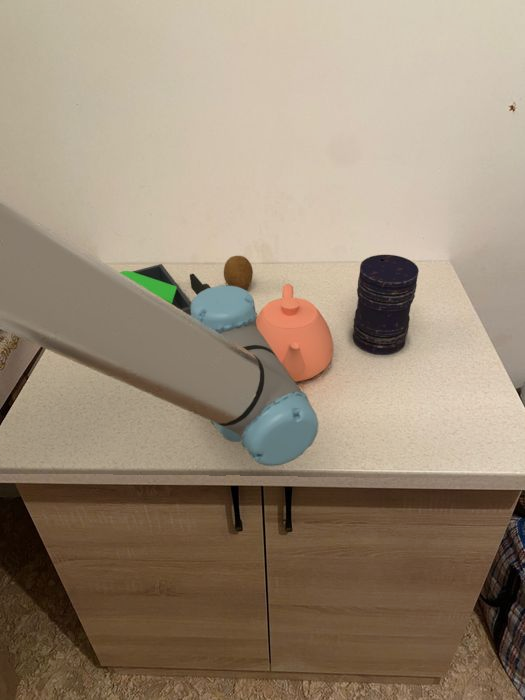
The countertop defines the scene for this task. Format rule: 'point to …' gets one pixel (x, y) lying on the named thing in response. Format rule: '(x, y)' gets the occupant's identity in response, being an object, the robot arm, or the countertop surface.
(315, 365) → the teapot
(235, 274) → the fruit
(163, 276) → the dark grey open tray
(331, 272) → the countertop surface
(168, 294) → the mechanical part
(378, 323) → the dark blue cylinder
